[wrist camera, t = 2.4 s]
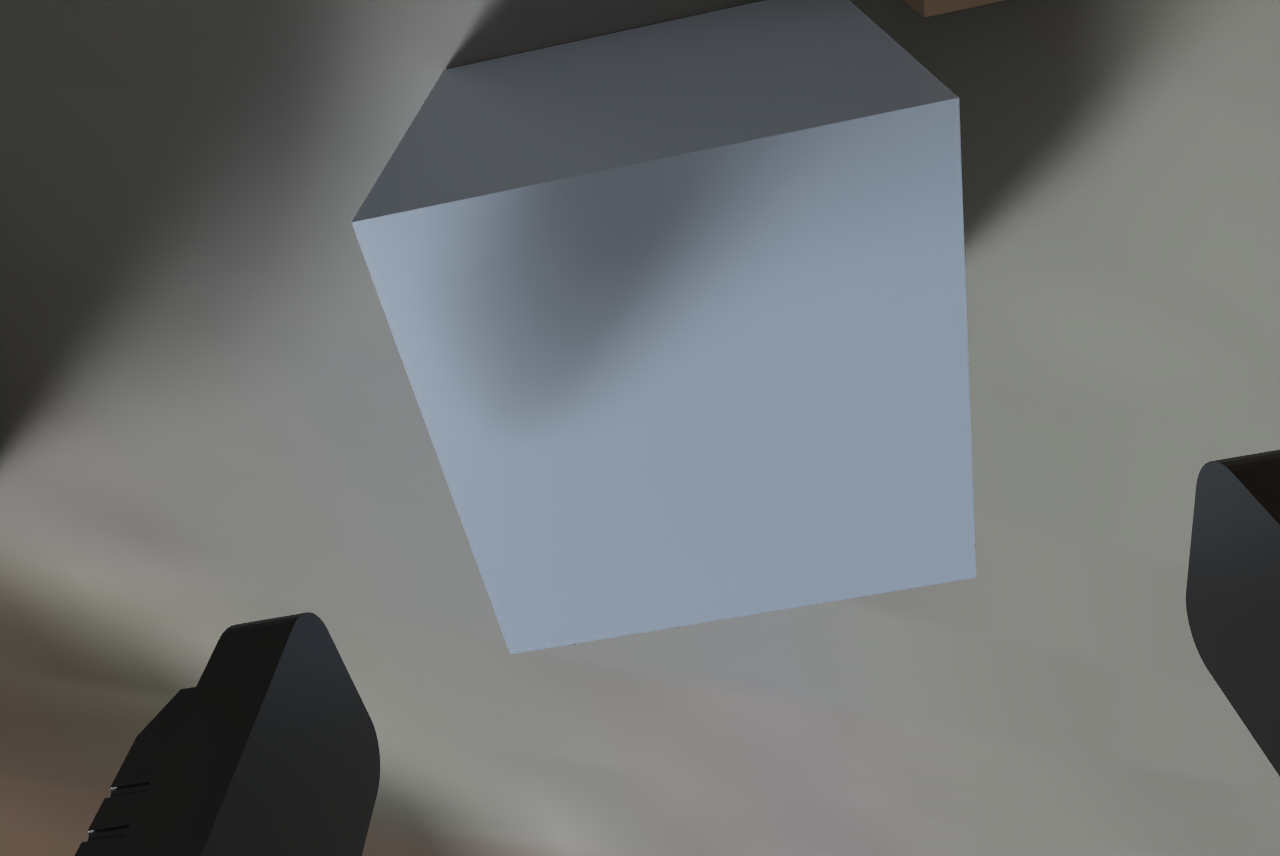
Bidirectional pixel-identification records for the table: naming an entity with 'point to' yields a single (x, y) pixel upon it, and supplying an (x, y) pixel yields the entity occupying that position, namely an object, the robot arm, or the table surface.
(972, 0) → the post board
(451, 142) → the pale grey cube
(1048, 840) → the table surface
